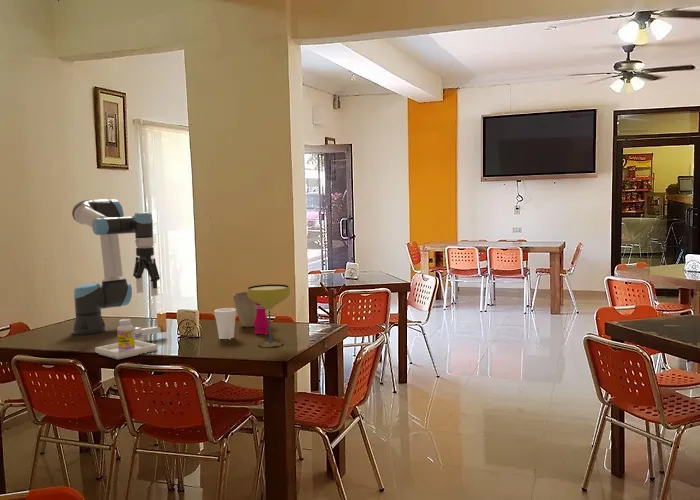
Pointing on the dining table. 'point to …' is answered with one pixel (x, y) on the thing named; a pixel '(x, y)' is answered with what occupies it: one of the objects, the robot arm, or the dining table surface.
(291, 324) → the dining table surface
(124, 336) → the supplement bottle
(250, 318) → the plant pot
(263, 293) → the cocktail glass
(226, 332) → the foam cup
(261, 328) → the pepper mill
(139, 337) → the crank base
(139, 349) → the tray
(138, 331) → the crank lever
